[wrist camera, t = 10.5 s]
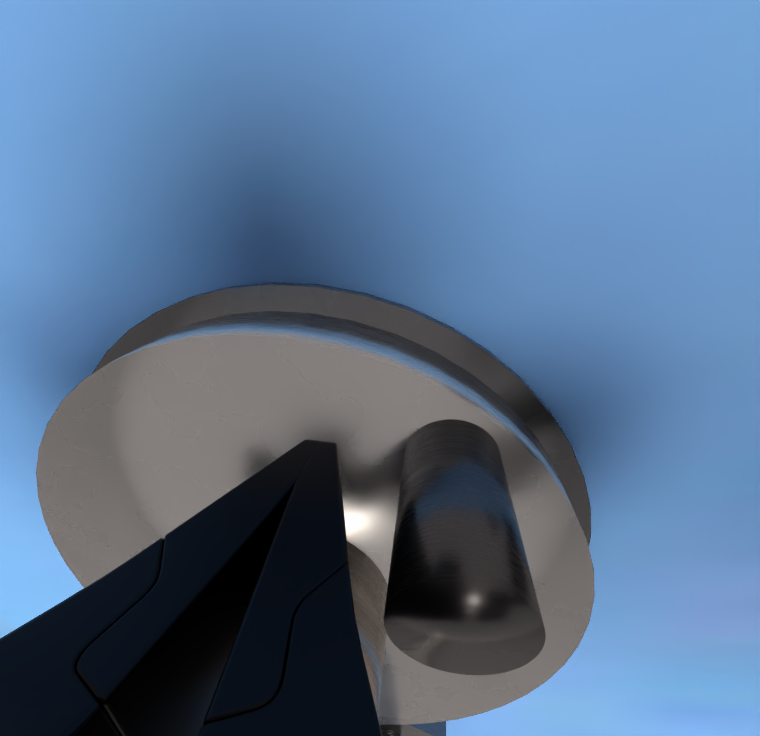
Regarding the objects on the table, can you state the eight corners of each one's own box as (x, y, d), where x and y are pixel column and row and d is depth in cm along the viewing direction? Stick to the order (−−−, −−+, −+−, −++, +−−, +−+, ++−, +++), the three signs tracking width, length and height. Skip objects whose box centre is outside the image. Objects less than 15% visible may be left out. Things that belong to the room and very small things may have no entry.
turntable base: (735, 484, 11) (743, 491, 11) (411, 708, 20) (411, 715, 20) (114, 141, 9) (104, 139, 9) (68, 557, 18) (63, 563, 18)
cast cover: (394, 651, 13) (380, 805, 10) (232, 630, 14) (168, 763, 11) (384, 526, 10) (359, 682, 7) (182, 510, 11) (76, 641, 8)
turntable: (533, 695, 17) (579, 930, 11) (174, 644, 20) (76, 811, 14) (633, 304, 9) (958, 478, 3) (-3, 315, 12) (-384, 416, 6)
